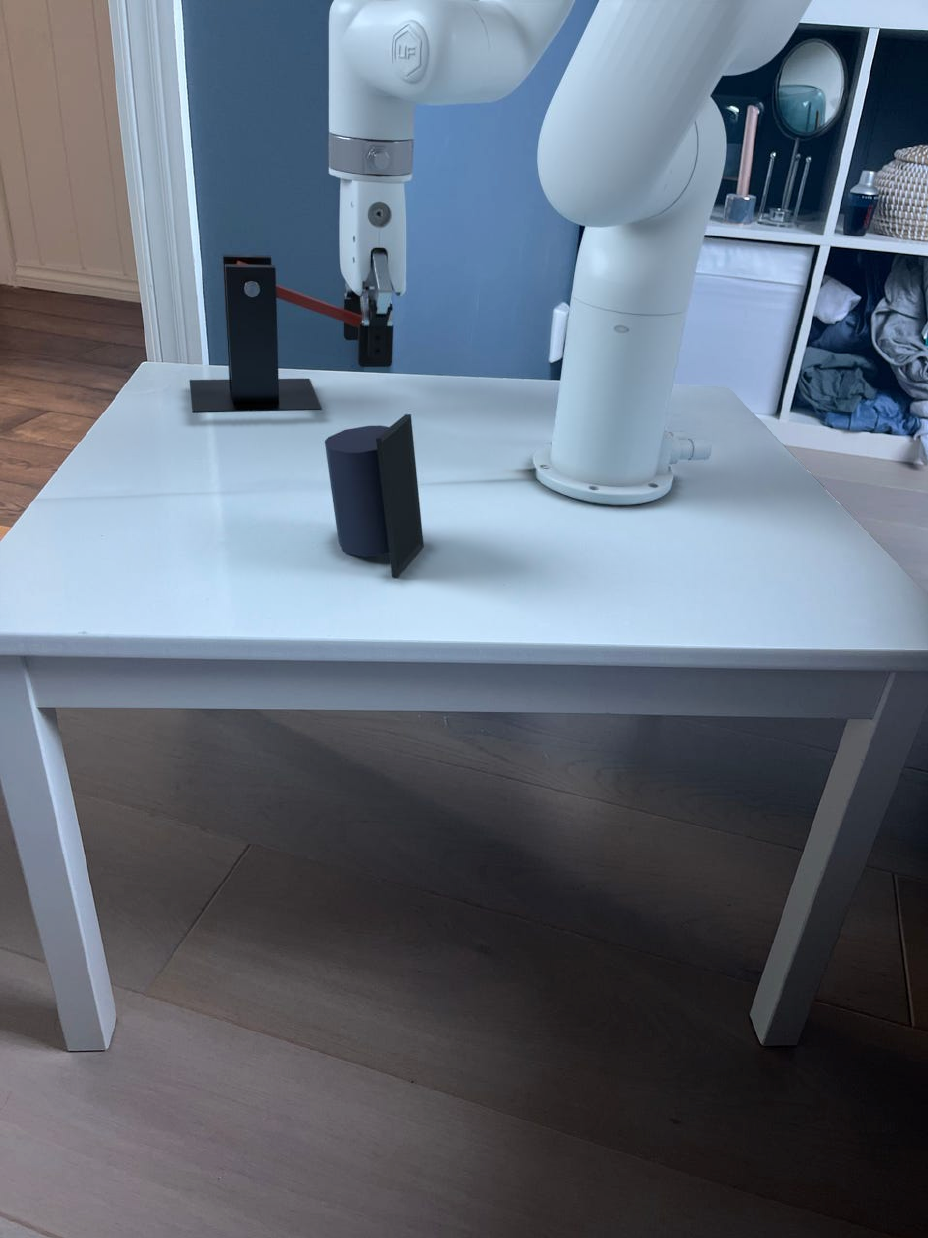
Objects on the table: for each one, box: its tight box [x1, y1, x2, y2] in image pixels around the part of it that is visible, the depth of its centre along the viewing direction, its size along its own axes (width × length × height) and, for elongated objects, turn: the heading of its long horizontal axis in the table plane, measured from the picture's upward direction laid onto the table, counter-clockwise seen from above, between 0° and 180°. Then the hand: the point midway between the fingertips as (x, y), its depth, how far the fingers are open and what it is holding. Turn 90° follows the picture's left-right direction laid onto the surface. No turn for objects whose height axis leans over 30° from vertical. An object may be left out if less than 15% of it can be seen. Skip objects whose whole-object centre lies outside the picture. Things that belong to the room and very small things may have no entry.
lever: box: [237, 261, 362, 327], centre depth 92 cm, size 14×5×2 cm, turn 105°
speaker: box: [324, 413, 425, 579], centre depth 70 cm, size 8×6×10 cm
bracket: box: [189, 253, 322, 414], centre depth 93 cm, size 12×9×14 cm
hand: (366, 351), depth 96 cm, fingers open, 8 cm apart
